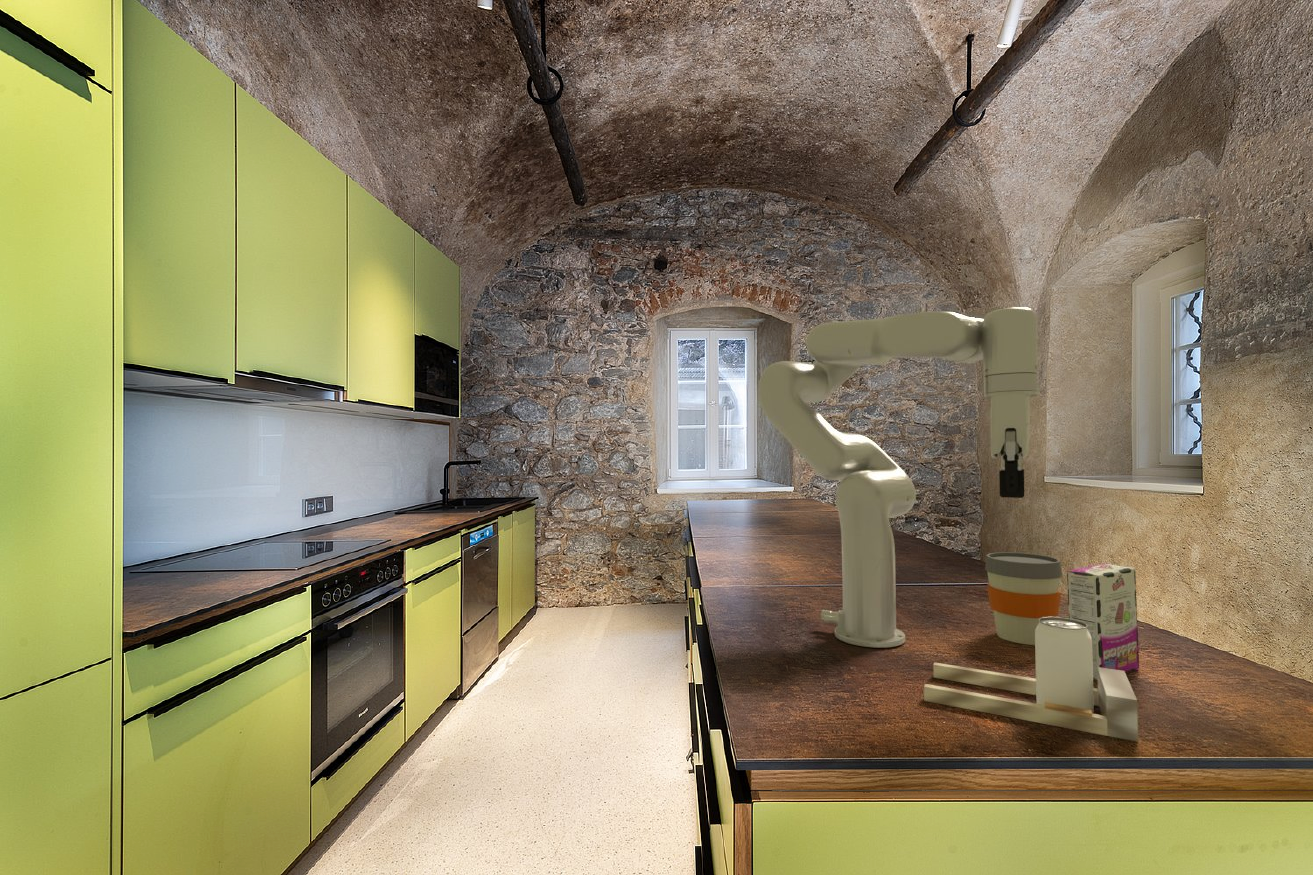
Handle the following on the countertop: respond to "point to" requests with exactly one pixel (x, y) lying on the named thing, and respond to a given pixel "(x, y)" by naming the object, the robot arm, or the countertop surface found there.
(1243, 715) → the countertop surface
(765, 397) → the robot arm
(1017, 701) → the beige u-shaped frame
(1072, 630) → the can
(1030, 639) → the reusable coffee cup
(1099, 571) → the candy bar box
